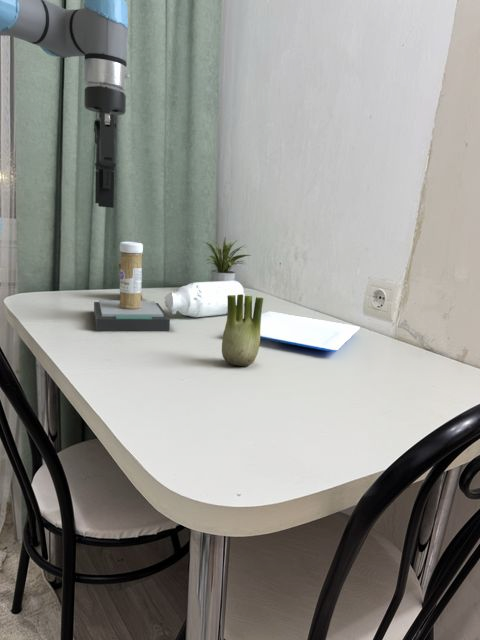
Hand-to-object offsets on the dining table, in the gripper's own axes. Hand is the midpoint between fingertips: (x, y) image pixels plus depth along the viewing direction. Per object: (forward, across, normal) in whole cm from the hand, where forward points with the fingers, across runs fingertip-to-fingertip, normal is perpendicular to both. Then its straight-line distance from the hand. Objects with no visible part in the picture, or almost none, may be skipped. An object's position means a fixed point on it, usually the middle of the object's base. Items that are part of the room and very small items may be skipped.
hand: (103, 205), depth 102 cm
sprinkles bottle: (+20, -4, -5) cm, 21 cm away
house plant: (+23, +31, -35) cm, 52 cm away
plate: (+23, -17, -38) cm, 48 cm away
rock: (+24, +20, -9) cm, 32 cm away
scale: (+23, -4, -5) cm, 24 cm away
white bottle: (+23, +1, -23) cm, 33 cm away
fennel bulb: (+23, -34, -20) cm, 45 cm away
